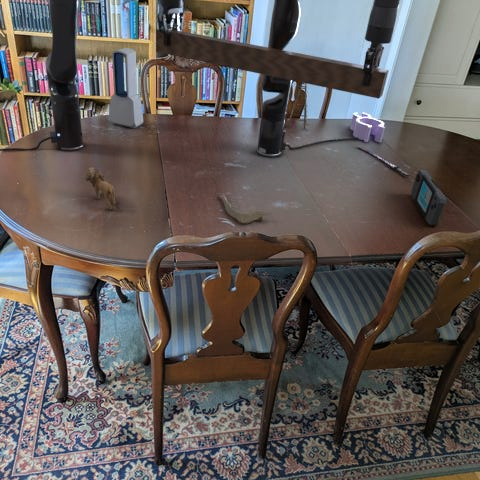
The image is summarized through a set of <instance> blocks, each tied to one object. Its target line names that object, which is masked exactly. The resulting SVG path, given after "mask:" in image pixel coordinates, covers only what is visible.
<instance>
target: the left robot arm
mask: <svg viewBox="0 0 480 480" xmlns="http://www.w3.org/2000/svg"><path fill="white" fill-rule="evenodd" d="M159 5H160V6H161V7H162V8H163V9H162V13H161V14H159V13H158V14H157V15H156V18H157V25H158V29H159V32H160V33H163V39H164V40H163V43H164V46H170V30H171V29H172V30H177V31H183V28H184V21H185V15H186V14H185V12H182V11H181V10H180V9H182V8H183V0H160V4H159ZM80 8H81V0H48V11H49V20H50V27H51V35H52V37H51V38H52V39H51V40H52V41H51V51H50V52H49V54H47V56H46V58H45V70H46V77H47V84H48V91H49V95H50V101H51V102H50V103H51V110H52V116H53V127H54V128H53V129H54V130H53V131H49V135H50V136H48V137H46V138H43V139H41V140H40V141H39V142H38V144H37V146H34V147H32V148H21V147H19V148H18V147H9V148H7V147H6V148H0V152H5V151H7V152H8V151H22V152H23V151H35V150H37V149H39V148H40V146H41V144H42V143H44V142H46V141H48V140H50V142H51V144H56V149H57V150H59V151H60V150H62V151H77V150H80V149H83V147H84V140H83V139H84V138H83V135H84V134H83V129H82V120H81V108H80V100H79V99H80V98H79V97H80V96H79V92H78V91H79V90H78V87H77V81H76V76H77V73H78V62H77V61H78V60H77V36H78V30H79V21H80V20H79V19H80V10H81V9H80ZM162 28H163V29H162ZM167 29H168V30H167Z"/></svg>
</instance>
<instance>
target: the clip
mask: <svg viewBox="0 0 480 480" xmlns="http://www.w3.org/2000/svg"><path fill="white" fill-rule="evenodd" d="M358 114H359V113H358V112H353V114H352V118H351V122H350V126H349V129H350V130H351V131H353V132H352V136H353V138H356V137H358V139H357V140H361V141H363V142H364V143H368V142H369V140H370V135H372V136H374V139H373V140H374V142H376V143H382V140H383V137H384V132H385V129H386V127H385V122H384V121H383V120H380V119H377V118H374V117H372V115H371V114H369V113H366V112H361V115H358Z"/></svg>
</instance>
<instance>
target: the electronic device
mask: <svg viewBox="0 0 480 480" xmlns="http://www.w3.org/2000/svg"><path fill="white" fill-rule="evenodd" d="M111 58H112V60H111V61H112V78H113V79H112V81H113V94H111V96H110V100H109V113H108V119H109V121H110V123H111V124H113V125H116V126H121V127H124V128H125V127H126V128H129V129H136V128H138V127H140V126H141V125H142V124H143V123H144V113H143V105H142V98H141V96H140V95H139V94H138V82H137V81H138V80H137V79H138V78H137V51H135V50H134V49H132V48H128V47H124V48H123V47H122V48H120V49H117V50H114V51H113V50H112V51H111ZM124 59H125V60H124ZM124 63H125V64H124Z"/></svg>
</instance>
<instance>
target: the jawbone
mask: <svg viewBox="0 0 480 480" xmlns="http://www.w3.org/2000/svg"><path fill="white" fill-rule="evenodd" d="M218 197H219V198H220V199H221V200H222V203H223V205H224V208H225V211H226V214H228V215H229V216H230V217H232V218H233V219H234V220H237V222H238V223H240V224H243V225H244V224H249V223H251V222H254V221H256V220H257V221H259V222H262V221H263V220H264V219H263V218H264V216H267V217H268V216H270V215H271V214H270V213H269V212H267V211H261V210H260V211H255V212H253V213H243V212H242V211H241V210H239V209H238V208H237V207H236V206H235V205H234V203H233V202H229V201H228V199H227V197H226V196H225V194H224V193H218Z"/></svg>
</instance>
